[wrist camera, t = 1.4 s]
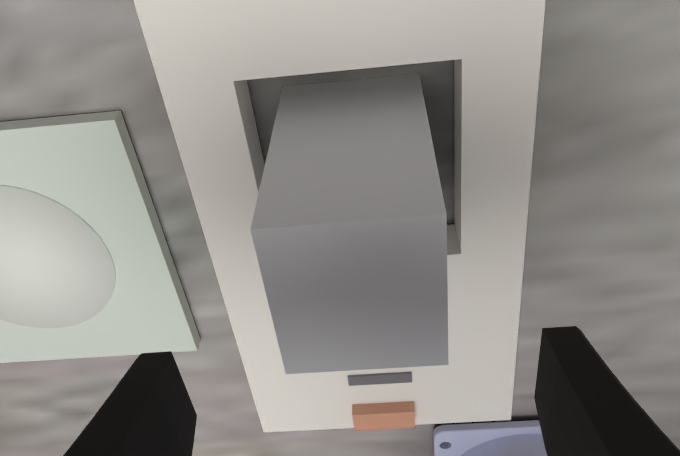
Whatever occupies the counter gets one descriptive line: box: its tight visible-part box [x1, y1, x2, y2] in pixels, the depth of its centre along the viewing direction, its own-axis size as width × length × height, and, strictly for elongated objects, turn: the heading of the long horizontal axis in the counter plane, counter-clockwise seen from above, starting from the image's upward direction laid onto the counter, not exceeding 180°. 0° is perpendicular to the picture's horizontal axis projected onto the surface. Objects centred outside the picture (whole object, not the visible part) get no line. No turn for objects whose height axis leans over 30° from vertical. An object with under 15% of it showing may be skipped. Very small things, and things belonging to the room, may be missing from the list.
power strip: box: [133, 0, 546, 432], centre depth 21 cm, size 18×10×2 cm, turn 6°
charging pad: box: [0, 111, 200, 363], centre depth 22 cm, size 10×10×1 cm
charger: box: [250, 74, 449, 374], centre depth 17 cm, size 4×4×7 cm
